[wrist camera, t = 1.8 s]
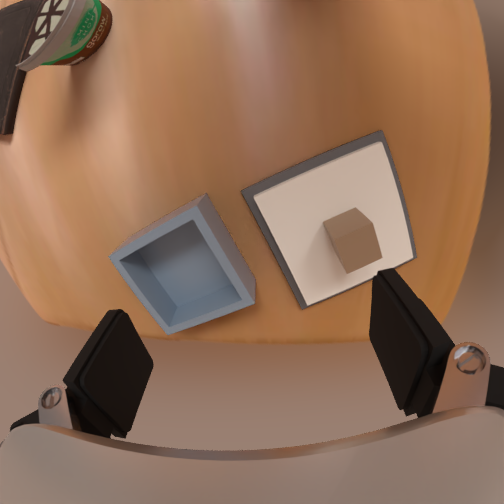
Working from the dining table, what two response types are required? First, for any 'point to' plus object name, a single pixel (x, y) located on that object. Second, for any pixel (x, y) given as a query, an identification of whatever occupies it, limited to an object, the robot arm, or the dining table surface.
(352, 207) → the lid
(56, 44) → the food container
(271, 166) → the dining table surface
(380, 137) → the mat
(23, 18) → the hardcover book
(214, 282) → the dish
